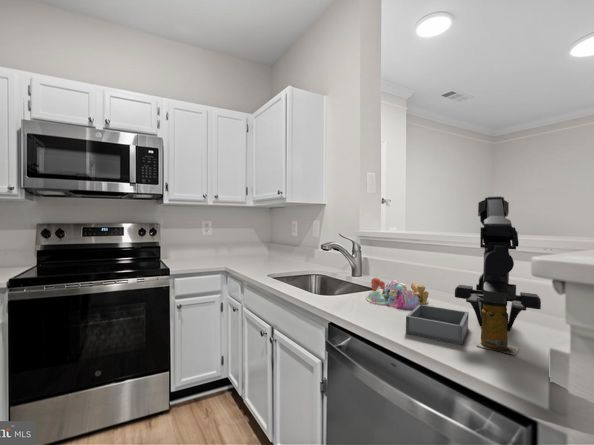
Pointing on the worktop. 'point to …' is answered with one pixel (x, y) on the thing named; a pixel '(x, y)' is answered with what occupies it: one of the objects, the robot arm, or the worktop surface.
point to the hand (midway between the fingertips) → (494, 328)
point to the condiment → (495, 328)
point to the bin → (438, 323)
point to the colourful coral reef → (397, 294)
